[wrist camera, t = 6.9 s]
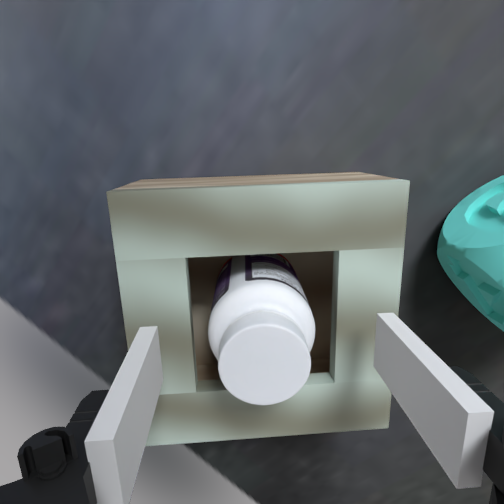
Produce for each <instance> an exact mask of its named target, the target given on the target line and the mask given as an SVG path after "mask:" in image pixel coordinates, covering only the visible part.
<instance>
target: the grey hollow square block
mask: <svg viewBox="0 0 504 504" xmlns="http://www.w3.org/2000/svg"><path fill="white" fill-rule="evenodd" d="M409 185H410V181H408V180H402V179H396V178H390V177H384V176H379V175H373V174H367V173H361V172H344V173H315V174H286V175H257V176H229V177H200V178H171V179H142V180H139V181H136V182H133V183H130V184H127V185H124V186H122V187H119V188H116V189H113V190H110V191H108V192H106V193H107V200H108V207H109V214H110V222H111V229H112V236H113V244H114V251H115V258H116V266H117V273H118V280H119V288H120V295H121V302H122V310H123V317H124V324H125V331H126V339H127V346H128V351H129V349H130V347H131V345H132V342H133V340H134V338H135V336H136V334H137V332H138V330H139V328H140V327H149V326H158V336H159V345H160V354H161V363H162V372H163V383H162V386H161V390H160V394H159V397H158V401H157V405H156V408H155V412H154V416H153V419H152V423H151V427H150V430H149V434H148V438H147V441H146V445H145V446H157V445H170V444H184V443H197V442H210V441H223V440H237V439H250V438H263V437H276V436H290V435H303V434H316V433H329V432H343V431H356V430H369V429H382V428H388V426H389V415H390V403H391V391H390V390H389V388H388V387H387V385H386V384H385V382H384V381H383V379H382V378H381V376H380V375H379V373H378V372H377V371H376V369H375V368H374V366H373V364H374V349H375V335H376V321H377V313H394V314H395V315H396V316H397V317H398V312H399V300H400V289H401V277H402V266H403V254H404V243H405V231H406V220H407V208H408V197H409ZM277 253H281V254H282V255H283V256H285V257H286V258H287V259H288V260H289V262H290V263H291V265H292V266H293V268H294V270H295V272H296V274H297V277H298V279H299V282H300V284H301V287H302V289H303V292H304V294H305V297H306V299H307V301H308V304H309V306H310V308H311V311H312V314H313V318H314V322H315V339H314V343H313V347H312V349H311V351H310V357H311V369H310V374H309V377H308V379H307V381H306V383H305V384H304V386H303V387H302V388H301V389H300V391H298V392H297V393H296V394H295V395H294V396H292V397H291V398H289V399H287V400H285V401H283V402H280V403H276V404H272V405H255V404H250V403H247V402H244V401H242V400H240V399H238V398H236V397H235V396H233V395H232V394H231V393H230V392H229V391H228V390H227V389H226V388H225V386H224V385H223V383H222V381H221V378H220V375H219V371H218V360H217V359H216V357H215V355H214V354H213V352H212V349H211V346H210V343H209V338H208V326H209V318H210V313H211V308H212V303H213V297H214V293H215V287H216V282H217V277H218V274H219V271H220V269H221V267H222V265H223V264H224V263H225V261H226V260H227V259H228V258H229V257H230V256H234V255H256V254H277Z"/></svg>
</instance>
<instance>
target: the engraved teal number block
mask: <svg viewBox="0 0 504 504" xmlns="http://www.w3.org/2000/svg"><path fill="white" fill-rule="evenodd" d="M437 256H438V259H439V262H440V264H441V266H442V267H443V269H444V271H445V272H446V274H447V275H448V277H449V278H450V279H451V281H452V282H453V283H454V284H455V286H456V287H457V288H458V289H459V290H460V292H461V293H462V294H463V295H464V296H465V297H466V298H467V299H468V300H469V301H470V302H471V304H472V305H473V306H474V307H475V308H477V309H478V310H479V311H480V312H481V313H482V314H483V315H484V316H485V317H486V318H487V319H489V320H490V321H491V322H492V323H493V324H495V325H496V326H497V327H498V328H500V329H501V330H502V331H504V175H503V176H501V177H498V178H496V179H494V180H492V181H490V182H488V183H487V184H485V185H483V186H481V187H480V188H478V189H476V190H475V191H473V192H472V193H471V194H469V195H468V196H467V197H465V198H464V199H463V200H462V201H461V202H459V203H458V204H457V205H456V206H455V207H454V208H453V210H452V211H451V212H450V213H449V215H448V216H447V218H446V220H445V222H444V224H443V226H442V229H441V232H440V236H439V240H438V246H437Z"/></svg>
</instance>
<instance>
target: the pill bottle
mask: <svg viewBox="0 0 504 504" xmlns="http://www.w3.org/2000/svg"><path fill="white" fill-rule="evenodd" d="M208 338H209V343H210V346H211V349H212V352H213V354H214V355H215V357H216V359H217V360H218V371H219V375H220V378H221V381H222V383H223V385H224V386H225V388H226V389H227V390H228V391H229V392H230V393H231V394H232V395H233V396H235V397H236V398H238V399H240V400H242V401H244V402H247V403H250V404H255V405H272V404H276V403H280V402H283V401H285V400H287V399H289V398H291V397H292V396H294V395H295V394H296V393H297V392H298V391H300V389H301V388H302V387H303V386H304V384H305V383H306V381H307V379H308V377H309V374H310V369H311V357H310V351H311V349H312V347H313V343H314V339H315V322H314V318H313V314H312V311H311V308H310V306H309V304H308V301H307V299H306V297H305V294H304V292H303V289H302V287H301V284H300V282H299V279H298V277H297V274H296V272H295V270H294V268H293V266H292V265H291V263H290V262H289V260H288V259H287V258H286V257H285V256H283V255H282V254H281V253H277V254H256V255H234V256H230V257H229V258H228V259H227V260H226V261H225V263H224V264H223V265H222V267H221V269H220V271H219V274H218V277H217V282H216V287H215V293H214V297H213V303H212V308H211V313H210V318H209V326H208Z"/></svg>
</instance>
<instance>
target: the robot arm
mask: <svg viewBox="0 0 504 504" xmlns="http://www.w3.org/2000/svg"><path fill="white" fill-rule="evenodd" d="M373 366H374V368H375V369H376V371H377V372H378V373H379V375H380V376H381V378H382V379H383V381H384V382H385V384H386V385H387V387H388V388H389V390H390V391H391V393H392V394H393V396H394V397H395V399H396V400H397V402H398V403H399V404H400V406H401V407H402V409H403V410H404V412H405V413H406V415H407V416H408V418H409V419H410V421H411V422H412V424H413V425H414V427H415V428H416V430H417V431H418V432H419V434H420V435H421V437H422V438H423V440H424V441H425V443H426V444H427V446H428V447H429V449H430V450H431V452H432V453H433V455H434V456H435V458H436V459H437V460H438V462H439V463H440V465H441V466H442V468H443V469H444V471H445V472H446V474H447V475H448V477H449V478H450V480H451V481H452V483H453V484H454V486H455V487H456V488H457V489H460V488H471V487H481V482H482V476H483V471H484V472H485V473H486V474H487V475H488V477H489V478H490V479H491V480H492V482H493V486H492V491H491V496H490V501H489V504H504V403H503V402H502V401H501V400H499V399H498V398H497V397H496V396H495V395H494V394H493V393H492V392H489V389H487V388H486V387H485V386H484V385H483V384H481V382H480V381H479V380H478V379H477V378H475V377H474V376H473V375H472V374H471V373H469V372H468V371H466V370H464V369H462V368H460V367H458V366H447V365H446V364H445V363H444V362H443V361H442V360H441V359H440V358H439V357H438V356H437V355H436V354H435V353H434V352H433V351H432V350H431V349H430V348H429V347H428V346H427V345H426V344H425V343H424V342H423V341H422V340H421V339H420V338H419V337H418V336H417V335H416V334H415V333H414V332H413V331H412V330H411V329H409V328H408V327H407V326H406V325H405V324H404V323H403V322H402V321H401V320H400V319H399V318H398V317H397V316H396V315H395V314H394V313H377V321H376V335H375V349H374V364H373ZM162 383H163V372H162V363H161V354H160V345H159V336H158V326H149V327H140V328H139V330H138V332H137V334H136V336H135V338H134V340H133V342H132V345H131V347H130V349H129V351H128V353H127V355H126V357H125V359H124V361H123V363H122V365H121V367H120V369H119V371H118V373H117V375H116V377H115V380H114V382H113V384H112V386H111V388H110V390H100V391H92V392H91V393H90V394H89V395H87V396H86V397H85V398H84V399H83V400H82V401H81V402H80V404H79V406H78V407H77V409H76V411H75V414H73V416H72V418H71V419H70V423H68V425H67V426H66V428H65V427H52V428H49V429H45V430H43V431H41V432H39V433H36V434H34V435H33V436H32V437H30V438H29V439H28V440H27V441H25V442H24V444H23V445H22V446H21V448H20V449H19V452H18V456H17V457H18V460H19V465H20V468H21V473H22V477H23V478H22V479H20V480H17V481H15V482H12V483H9V484H6V485H3V486H0V504H129V503H130V500H131V496H132V492H133V488H134V485H135V481H136V478H137V474H138V470H139V467H140V463H141V459H142V456H143V452H144V448H145V445H146V441H147V438H148V434H149V430H150V427H151V423H152V419H153V416H154V412H155V408H156V405H157V401H158V397H159V394H160V390H161V386H162Z"/></svg>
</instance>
